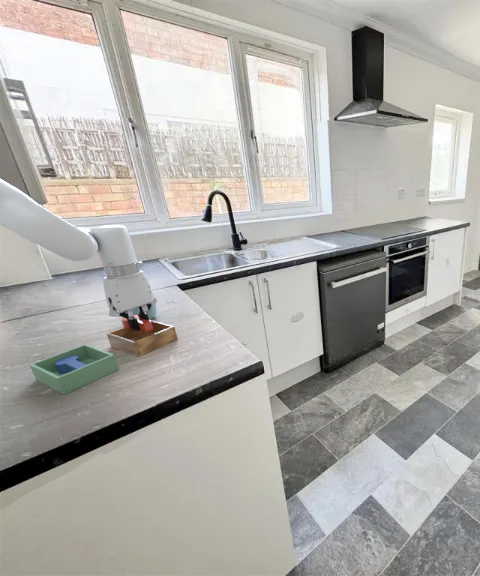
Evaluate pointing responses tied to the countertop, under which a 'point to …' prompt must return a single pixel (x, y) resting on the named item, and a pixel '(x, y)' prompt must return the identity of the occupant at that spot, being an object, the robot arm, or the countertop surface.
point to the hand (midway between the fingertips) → (140, 327)
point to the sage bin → (95, 368)
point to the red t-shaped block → (143, 324)
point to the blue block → (68, 364)
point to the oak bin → (142, 338)
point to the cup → (151, 313)
